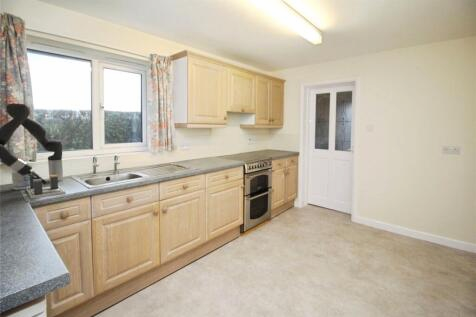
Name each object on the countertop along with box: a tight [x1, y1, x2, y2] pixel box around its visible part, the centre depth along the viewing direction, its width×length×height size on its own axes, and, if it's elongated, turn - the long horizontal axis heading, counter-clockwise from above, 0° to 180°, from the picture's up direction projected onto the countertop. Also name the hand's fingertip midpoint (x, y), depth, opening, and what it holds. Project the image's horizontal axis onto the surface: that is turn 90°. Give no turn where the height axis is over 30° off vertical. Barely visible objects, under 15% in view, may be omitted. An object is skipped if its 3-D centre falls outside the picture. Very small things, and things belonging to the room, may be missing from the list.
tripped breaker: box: [48, 174, 59, 189], centre depth 178 cm, size 4×4×9 cm
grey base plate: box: [25, 177, 66, 199], centre depth 174 cm, size 28×18×11 cm, turn 44°
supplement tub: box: [11, 169, 30, 191], centre depth 182 cm, size 10×10×15 cm
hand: (45, 183), depth 174 cm, fingers closed
